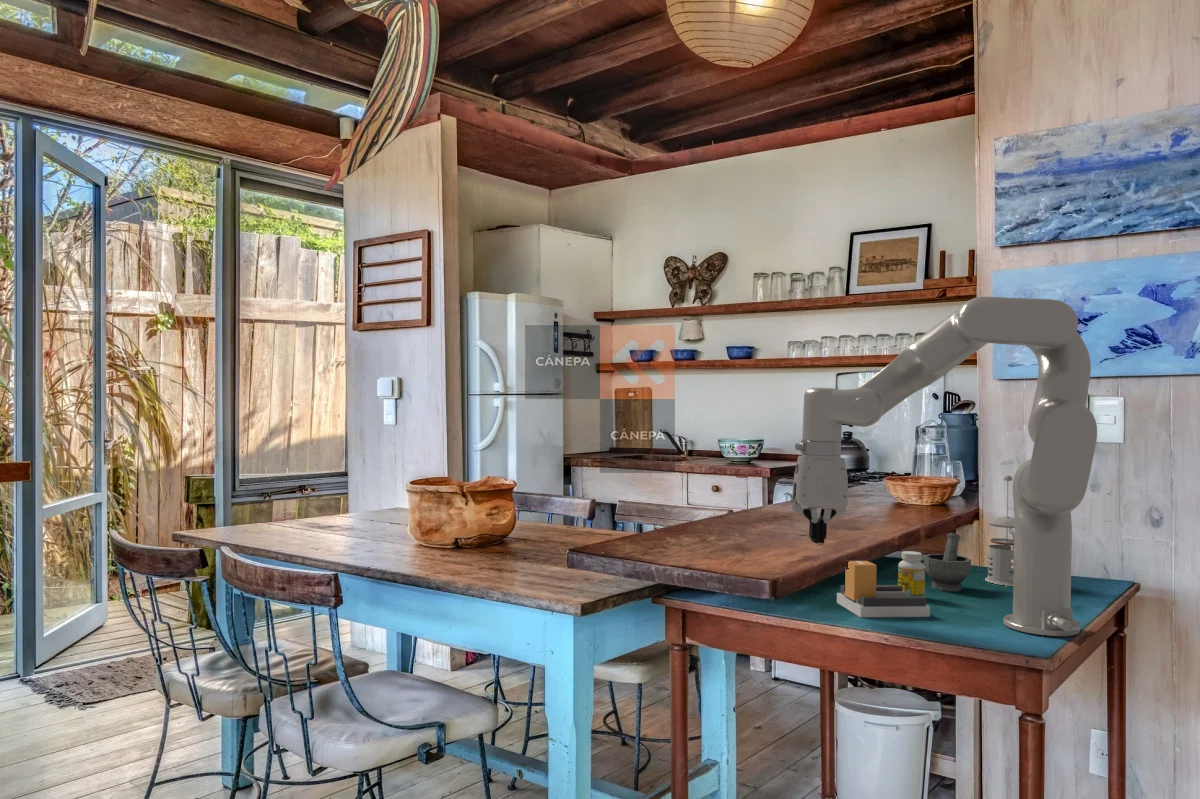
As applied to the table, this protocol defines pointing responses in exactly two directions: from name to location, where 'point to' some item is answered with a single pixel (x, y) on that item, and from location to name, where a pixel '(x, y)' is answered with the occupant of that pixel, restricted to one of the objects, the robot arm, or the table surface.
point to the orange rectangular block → (860, 579)
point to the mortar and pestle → (948, 566)
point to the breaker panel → (883, 610)
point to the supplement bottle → (912, 573)
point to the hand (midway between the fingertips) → (817, 542)
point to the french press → (1001, 551)
